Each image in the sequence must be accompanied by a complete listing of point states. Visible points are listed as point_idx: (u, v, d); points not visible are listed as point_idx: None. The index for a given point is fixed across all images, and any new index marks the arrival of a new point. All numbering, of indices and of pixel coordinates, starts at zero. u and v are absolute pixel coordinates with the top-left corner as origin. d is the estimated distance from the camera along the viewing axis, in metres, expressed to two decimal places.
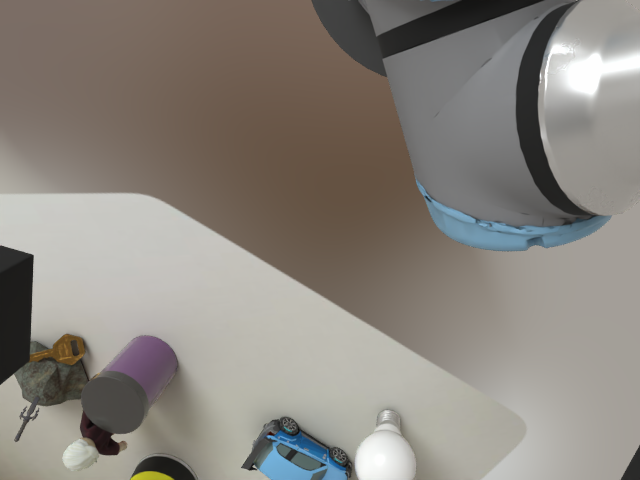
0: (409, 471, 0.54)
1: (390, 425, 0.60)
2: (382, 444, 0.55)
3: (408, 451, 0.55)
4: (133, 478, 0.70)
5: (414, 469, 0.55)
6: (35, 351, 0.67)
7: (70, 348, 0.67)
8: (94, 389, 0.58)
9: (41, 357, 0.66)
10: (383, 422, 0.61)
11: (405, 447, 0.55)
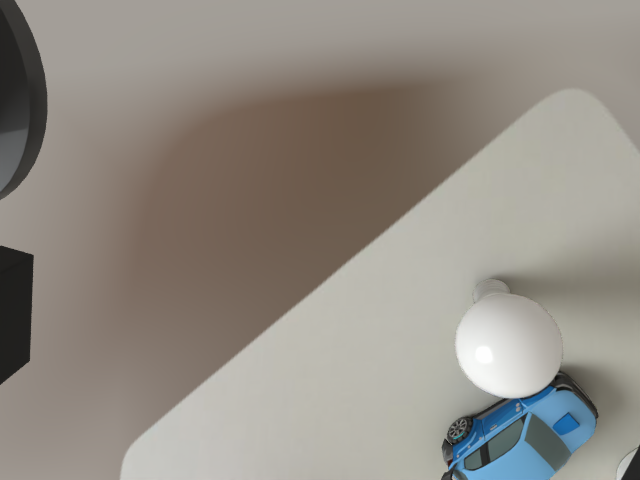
0: (512, 321, 0.32)
1: None
2: (459, 341, 0.34)
3: (489, 305, 0.33)
4: None
5: (519, 309, 0.32)
6: None
7: None
8: None
9: None
10: None
11: (480, 307, 0.33)
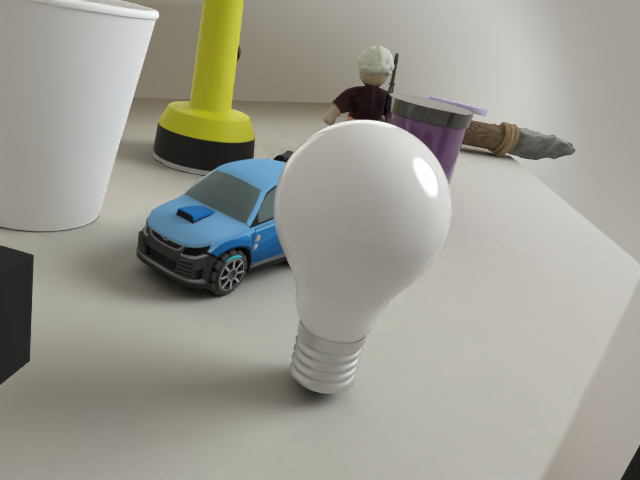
0: (402, 186, 0.17)
1: (378, 320, 0.21)
2: None
3: (426, 237, 0.18)
4: None
5: (385, 211, 0.17)
6: None
7: None
8: (450, 105, 0.48)
9: None
10: None
11: (435, 237, 0.18)
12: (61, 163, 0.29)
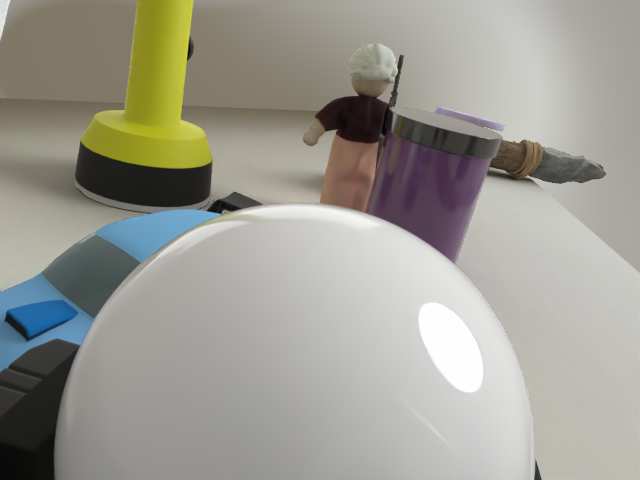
0: (403, 469, 0.05)
1: None
2: None
3: None
4: None
5: None
6: None
7: None
8: (470, 124, 0.36)
9: None
10: None
11: None
12: None
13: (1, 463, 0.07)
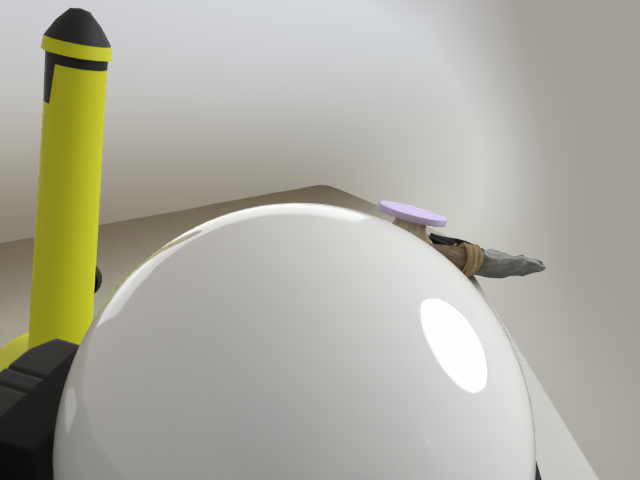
0: (403, 471, 0.05)
1: None
2: None
3: None
4: None
5: None
6: None
7: None
8: None
9: None
10: None
11: None
12: None
13: (1, 463, 0.07)
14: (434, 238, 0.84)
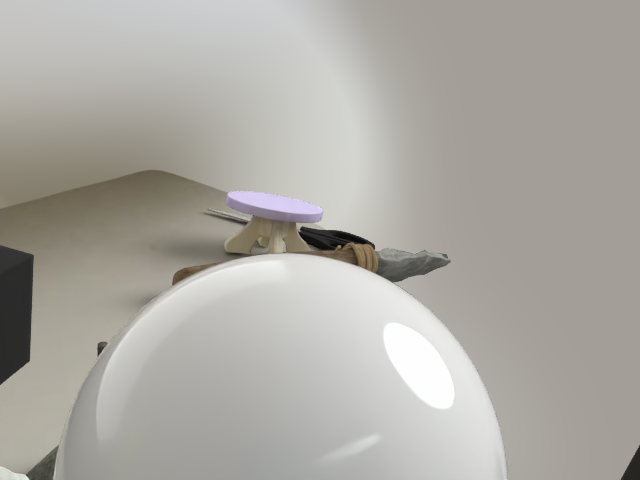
0: None
1: None
2: None
3: None
4: None
5: None
6: None
7: None
8: None
9: None
10: None
11: None
12: None
13: None
14: (307, 234, 0.63)
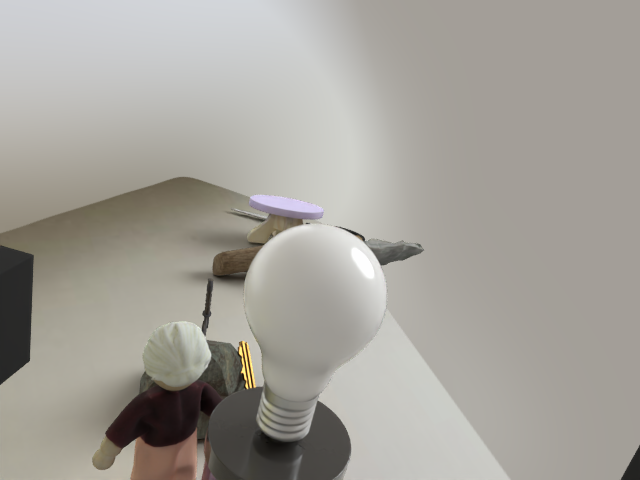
0: (342, 288, 0.22)
1: (328, 382, 0.26)
2: (386, 292, 0.24)
3: (361, 326, 0.22)
4: None
5: (327, 308, 0.21)
6: None
7: None
8: None
9: (246, 378, 0.41)
10: None
11: (369, 326, 0.23)
12: None
13: None
14: None
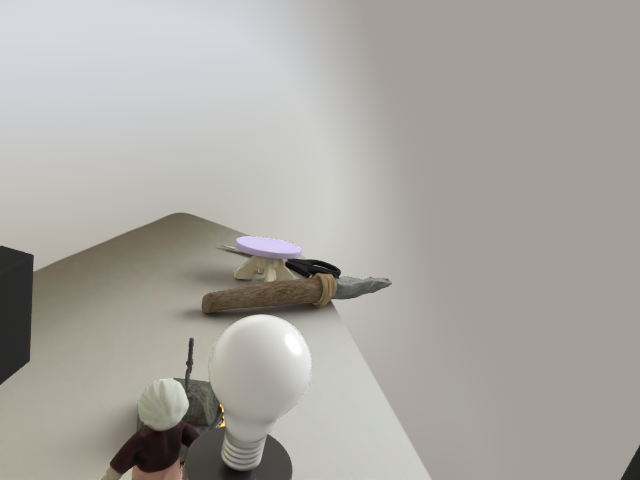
0: (274, 368, 0.31)
1: (272, 427, 0.35)
2: None
3: (288, 393, 0.32)
4: None
5: (263, 383, 0.31)
6: None
7: None
8: None
9: None
10: None
11: (295, 392, 0.32)
12: None
13: None
14: (291, 263, 0.89)
